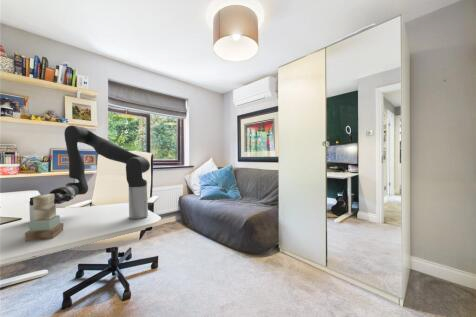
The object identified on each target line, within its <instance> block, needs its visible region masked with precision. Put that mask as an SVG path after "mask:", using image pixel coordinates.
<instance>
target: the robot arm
mask: <svg viewBox="0 0 476 317" xmlns="http://www.w3.org/2000/svg"><path fill="white" fill-rule="evenodd" d="M64 141H65V146H66V152H67V156H68V157H67V158H68V178H70V179H75V180H78V182H68V183H66V184H65V186H64V185H63V186H60V187H57V188H54V189H52V190H50V191H49V193H48V194H54V196H55V199H54V204H56V205H59V204H60V205H61V204H63V203H66V202H69V201H70V202H71V201H72V200H74V197H76V196H77V195H78V196H80V195H85V194H87V192H88V191H89V184H88V182H87V178H86V174H85V171H86V170H85V161H84V159H83V157H82V156H81V154H80V151H79V148H78V143H82V144H84V145H88V146H90V147H92V148H93V149H94V150H95V152H96V153H97V154H99V155H100V156H102V157H104V158H105V159H108V160H111V161H115V162H118V163H122V164H125V175H126V176H125V177H126V182H127V184H128V186H127V187H128V217H129V218H128V219H131V220H140V219H143V218H147V217H148V215H149V205H148V204H149V199H148V181H147V180H146V179H144V178H143V173H146V172H148V171H149V169H150V167H151V164H150V162H149V160H148V159H147V158H146V157H144V156H142V155H139V154H138V155H137V154H136V153H133V152H131V151H129V150H127V149H125V148H124V147H122V146H120V145H118V144H116V143H114V142H112V141H110V140H108V139H107V138H104V137H102V136H98V135H97V134H96V133H94V132H93V131H91V130H90V129H88V128H85V127H84V126H83V127H82V126H78V125H68V126H67V127H66V128H65V129H64ZM33 197H34V196H32V197H30V198H29V201H28V202H29V203H28V204H29V206H30V205H31V206H32V205H33Z"/></svg>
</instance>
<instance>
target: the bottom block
mask: <svg viewBox="0 0 476 317" xmlns="http://www.w3.org/2000/svg"><path fill="white" fill-rule="evenodd" d="M62 232H64V222H60V224H59V225H57V226H56V227H54V228H52V229H50V230H42V231H30V232H29V230H28V231H26V232H25V233H24V239H25V242H35V241H41V240H42V241H43V240H52V239H54V238H55V237H57V236H58V235H60V234H61V233H62Z"/></svg>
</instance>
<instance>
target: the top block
mask: <svg viewBox="0 0 476 317" xmlns="http://www.w3.org/2000/svg"><path fill="white" fill-rule="evenodd" d="M60 218H61V217H60V214H59V215H57V214H56V216H55V217H53V218H51V219H49V220H40V221H35V219H34V220H32V221H30V220H29V222H28V228H29V230H28V231H29V232H30V231H42V230H50V229H52V228H54V227H56V226H57V225H59V224H60V223H61V219H60Z"/></svg>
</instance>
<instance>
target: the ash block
mask: <svg viewBox="0 0 476 317" xmlns="http://www.w3.org/2000/svg"><path fill="white" fill-rule="evenodd" d="M32 197H33V205H34V218H35V221H40V220H49V219H51V218H53V217H55V216H57V209H56V210H55V204H54V199H55V196H54V194H49V193H45V194H39V195H36V196H32Z"/></svg>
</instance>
